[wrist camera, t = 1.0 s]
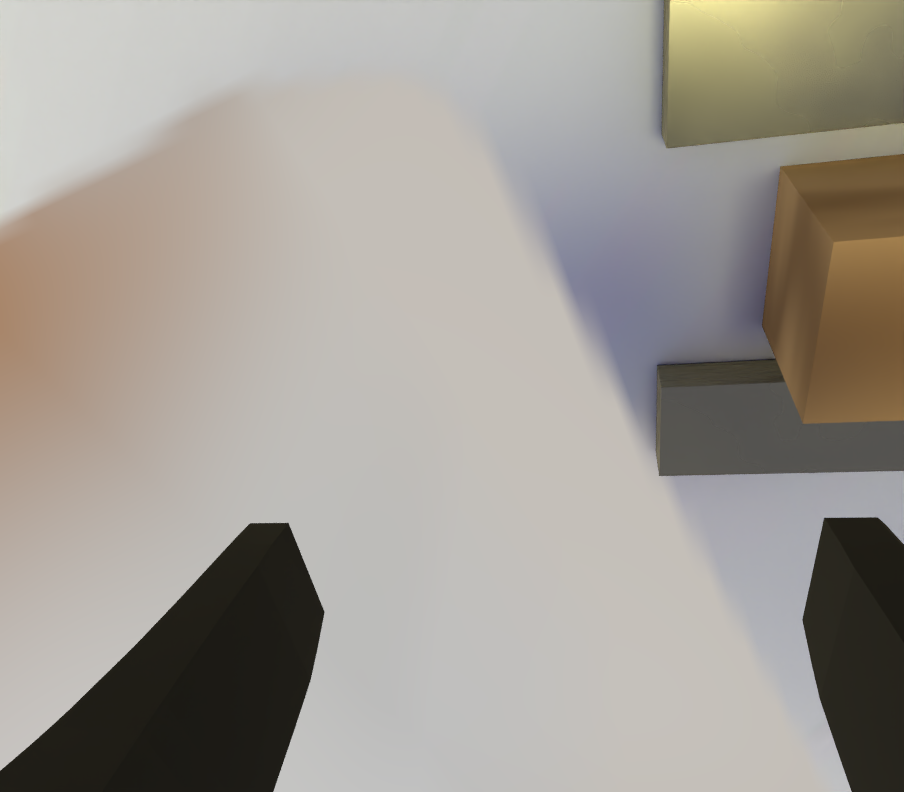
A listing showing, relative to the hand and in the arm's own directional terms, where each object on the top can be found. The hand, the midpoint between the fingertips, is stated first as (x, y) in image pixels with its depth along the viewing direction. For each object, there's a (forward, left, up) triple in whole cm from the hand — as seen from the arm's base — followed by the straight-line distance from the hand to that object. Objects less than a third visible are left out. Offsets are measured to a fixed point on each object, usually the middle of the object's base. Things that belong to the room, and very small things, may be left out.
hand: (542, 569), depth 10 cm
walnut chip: (0, -7, -10) cm, 12 cm away
